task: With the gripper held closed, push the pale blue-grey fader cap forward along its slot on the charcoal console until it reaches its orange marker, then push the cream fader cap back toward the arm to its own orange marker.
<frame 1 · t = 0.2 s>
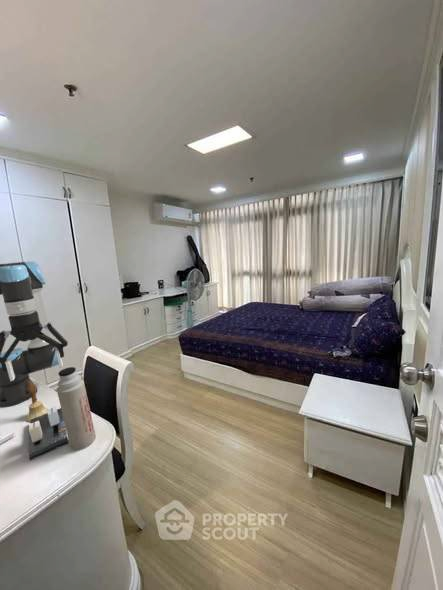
hand: (38, 372, 84), 27 cm above the table, fingers open, 13 cm apart
hand bell: (38, 415, 105), on the table
thermos bottle: (83, 442, 88), on the table
console: (48, 433, 93), on the table
fader B: (53, 417, 95), point 5 cm above the table, slide at 6.0 cm
fader A: (36, 432, 87), point 5 cm above the table, slide at 11.5 cm
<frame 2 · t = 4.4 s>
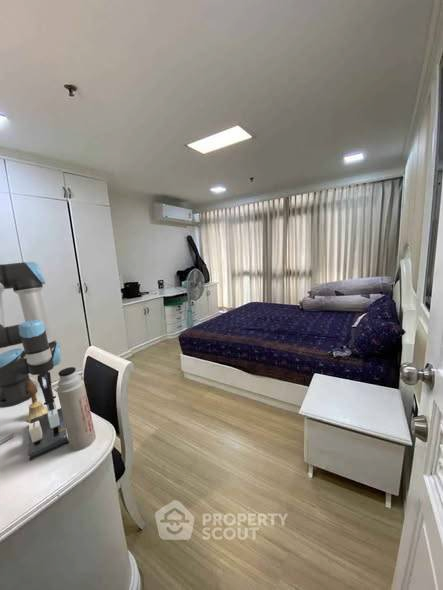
hand: (53, 416, 97), 4 cm above the table, fingers closed
fader B: (54, 419, 94), point 5 cm above the table, slide at 7.5 cm, touching gripper
everything else where it was.
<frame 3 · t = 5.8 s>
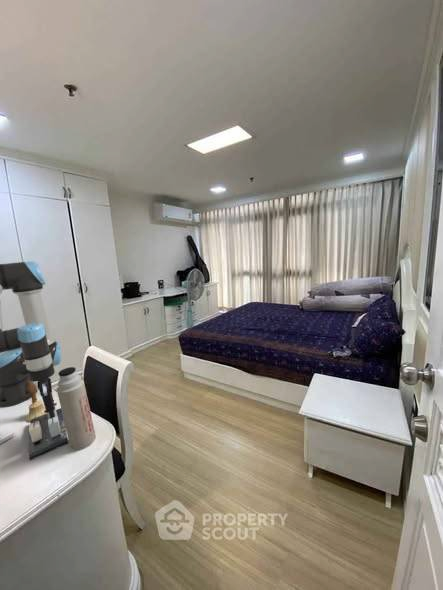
hand: (54, 424, 92), 4 cm above the table, fingers closed
fader B: (54, 428, 89), point 5 cm above the table, slide at 13.4 cm, touching gripper
everything else where it was.
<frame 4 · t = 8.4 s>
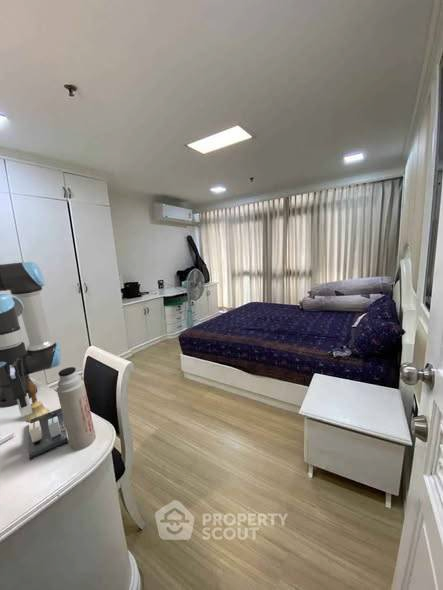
hand: (26, 413, 79), 17 cm above the table, fingers closed
fader B: (54, 428, 89), point 5 cm above the table, slide at 13.4 cm
everything else where it was.
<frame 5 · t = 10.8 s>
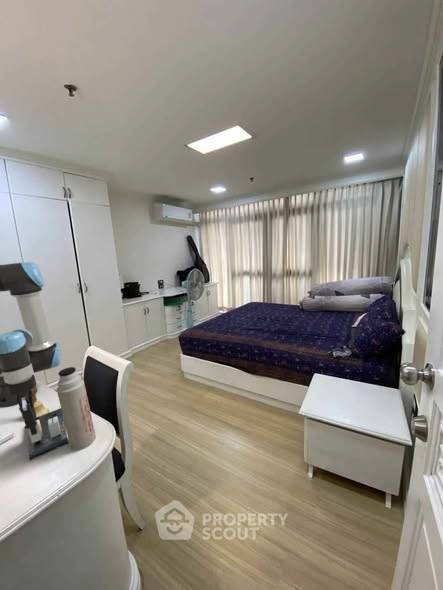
hand: (36, 440, 85), 4 cm above the table, fingers closed
fader A: (36, 431, 88), point 5 cm above the table, slide at 10.5 cm, touching gripper
everything else where it was.
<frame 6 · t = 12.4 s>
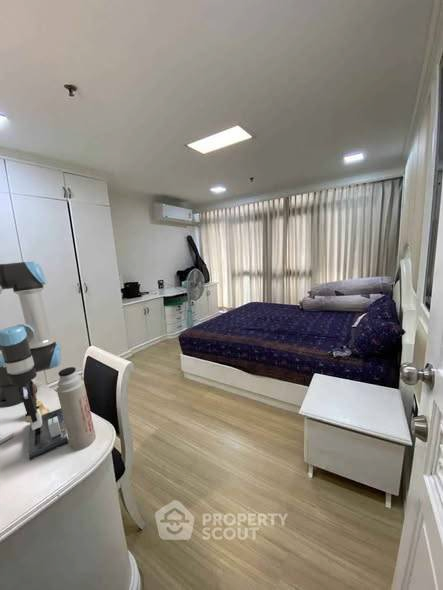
hand: (37, 427, 92), 4 cm above the table, fingers closed
fader A: (36, 419, 95), point 5 cm above the table, slide at 2.5 cm, touching gripper
everything else where it was.
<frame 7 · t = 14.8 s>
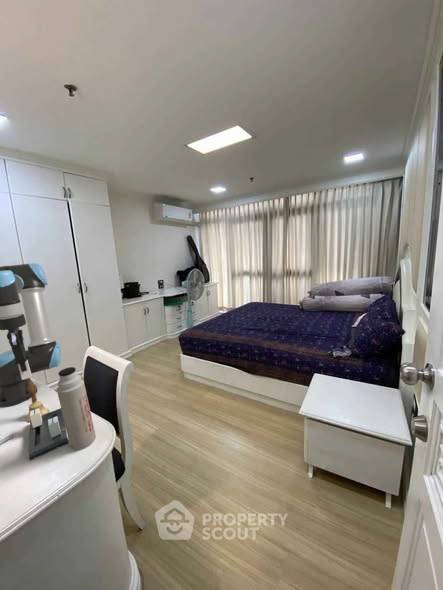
hand: (26, 377, 89), 23 cm above the table, fingers closed
fader A: (36, 419, 95), point 5 cm above the table, slide at 2.1 cm
everything else where it was.
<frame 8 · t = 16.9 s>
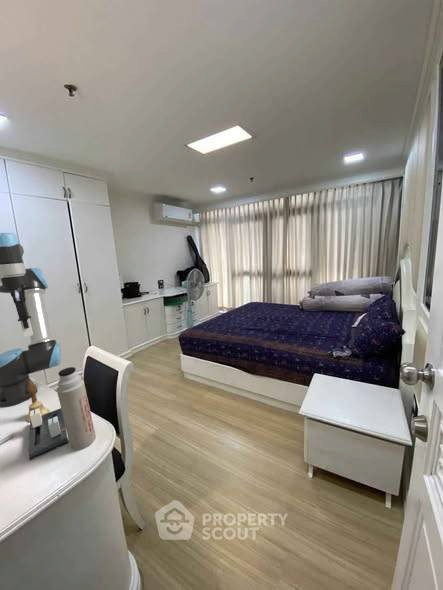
hand: (28, 335, 96), 36 cm above the table, fingers closed
nothing on the table moved.
at the end: fader B slide at 13.4 cm; fader A slide at 2.1 cm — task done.
